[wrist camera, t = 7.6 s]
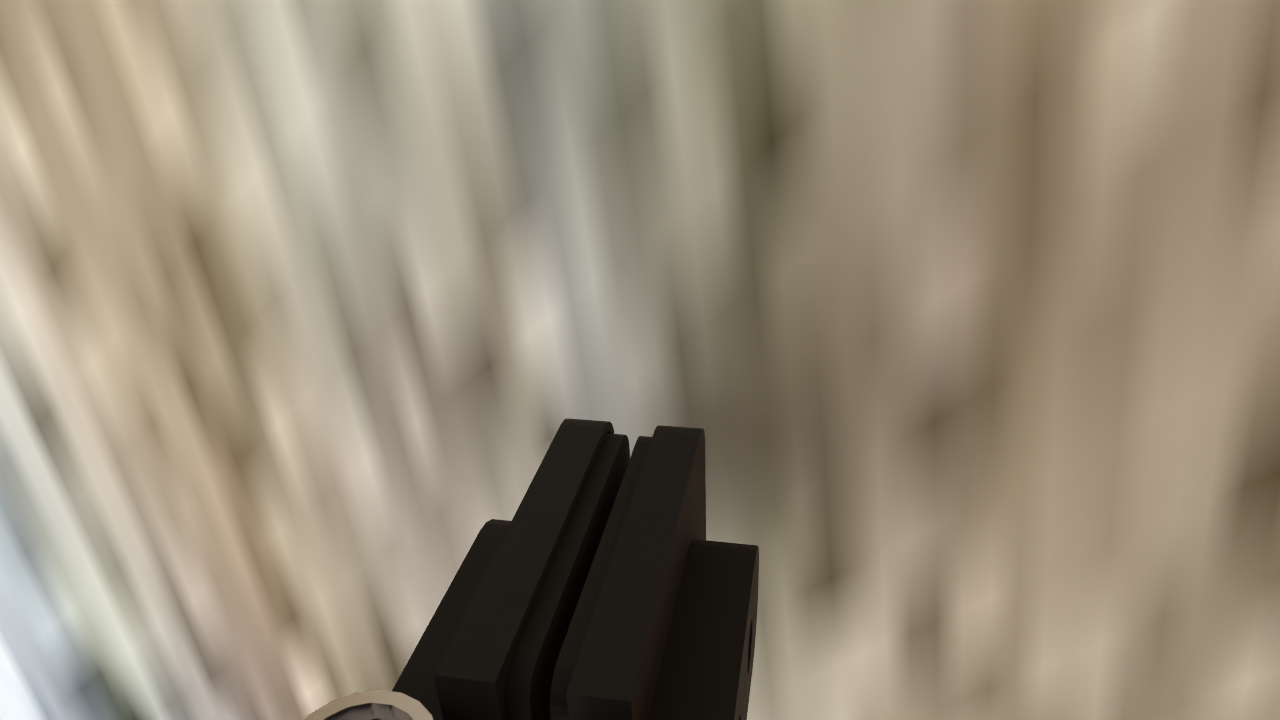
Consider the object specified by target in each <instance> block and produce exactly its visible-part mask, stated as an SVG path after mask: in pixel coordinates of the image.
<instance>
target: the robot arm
mask: <svg viewBox="0 0 1280 720" xmlns="http://www.w3.org/2000/svg"><path fill="white" fill-rule="evenodd" d="M758 573H759V547H758V546H756V545H746V544H736V543H726V542H716V541H706V491H705V434H704V430H703V429H699V428H686V427H672V426H657V427H656V429H655V432H654V435H653V437H645V436H639V437H638V439H637V441H636V444H635V447H634V450H633V452H632V455H631V458H630V451H629V440H628V437H627V436H626V435H620V434H614V429H613V426H612V424H611V422H606V421H593V420H579V419H565V420H564V421H563V422H562V424H561V425H560V427H559V429H558V431H557V433H556V435H555V437H554V439H553V441H552V443H551V445H550V447H549V449H548V451H547V453H546V455H545V457H544V459H543V461H542V463H541V465H540V467H539V469H538V471H537V473H536V475H535V476H534V478H533V480H532V482H531V484H530V486H529V488H528V490H527V492H526V494H525V496H524V498H523V500H522V502H521V504H520V506H519V508H518V510H517V512H516V514H515V516H514V518H513V520H512V521H505V520H495V519H492V520H490V521H488V522H486V523H485V525H484V526H483V528H482V529H481V530H480V532H479V534H478V536H477V537H476V539H475V541H474V543H473V545H472V546H471V548H470V550H469V552H468V554H467V556H466V557H465V559H464V561H463V563H462V565H461V566H460V568H459V570H458V572H457V574H456V575H455V577H454V579H453V581H452V583H451V585H450V586H449V588H448V590H447V592H446V594H445V595H444V597H443V599H442V601H441V603H440V605H439V606H438V608H437V610H436V612H435V614H434V616H433V617H432V619H431V621H430V623H429V625H428V626H427V628H426V630H425V632H424V634H423V636H422V637H421V639H420V641H419V643H418V645H417V646H416V648H415V650H414V652H413V654H412V656H411V657H410V659H409V661H408V663H407V665H406V666H405V668H404V670H403V672H402V674H401V676H400V677H399V679H398V681H397V683H396V685H395V686H394V688H393V690H392V691H385V690H373V691H365V692H356V693H353V694H350V695H347V696H345V697H342V698H339V699H336V700H333V701H331V702H329V703H328V704H326V705H324V706H323V707H321V708H319V709H318V710H316V711H315V712H313V713H311V714H310V715H308V716H307V717H306V718H305V719H304V720H746V719H747V711H748V702H749V694H750V685H751V676H752V667H753V658H754V647H755V635H756V621H757V603H758Z"/></svg>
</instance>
